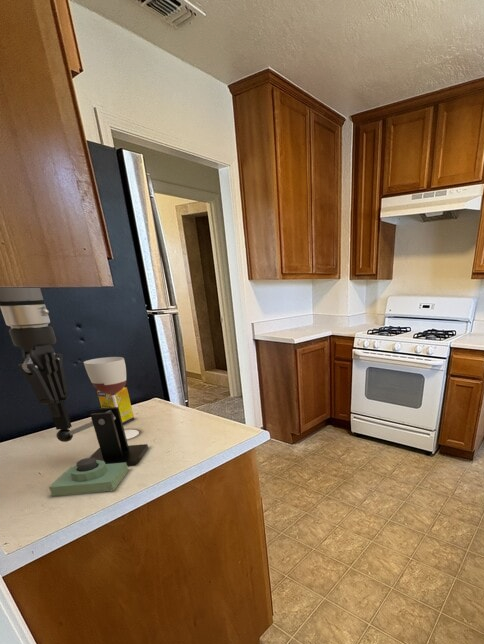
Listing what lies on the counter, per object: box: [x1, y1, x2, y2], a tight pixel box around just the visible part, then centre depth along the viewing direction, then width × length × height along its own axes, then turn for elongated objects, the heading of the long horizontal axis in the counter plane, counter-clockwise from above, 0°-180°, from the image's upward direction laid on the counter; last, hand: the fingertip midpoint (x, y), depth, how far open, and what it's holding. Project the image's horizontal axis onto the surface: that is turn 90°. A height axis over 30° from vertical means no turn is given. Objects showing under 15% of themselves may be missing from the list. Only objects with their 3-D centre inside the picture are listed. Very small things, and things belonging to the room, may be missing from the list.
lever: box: [56, 410, 116, 443], centre depth 85 cm, size 14×3×3 cm, turn 99°
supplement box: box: [96, 386, 135, 426], centre depth 112 cm, size 6×6×11 cm
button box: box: [49, 460, 129, 497], centre depth 78 cm, size 12×9×4 cm
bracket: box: [89, 407, 149, 467], centre depth 87 cm, size 12×10×13 cm
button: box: [75, 457, 98, 472], centre depth 77 cm, size 4×4×2 cm
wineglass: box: [83, 356, 140, 440], centre depth 99 cm, size 9×10×22 cm
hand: (64, 428), depth 85 cm, fingers closed
